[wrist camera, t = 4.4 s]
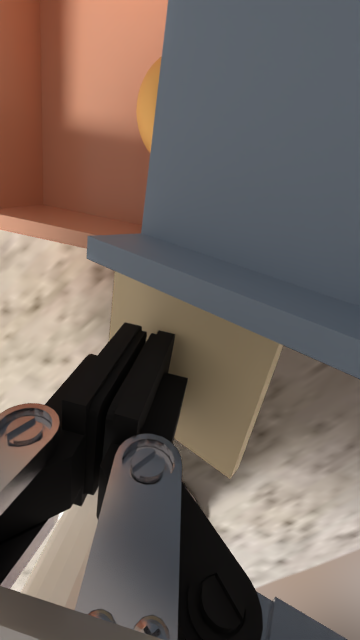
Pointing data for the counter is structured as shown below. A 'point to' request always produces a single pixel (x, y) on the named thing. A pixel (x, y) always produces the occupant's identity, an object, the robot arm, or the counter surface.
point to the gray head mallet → (247, 207)
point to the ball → (148, 103)
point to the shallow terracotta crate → (74, 115)
